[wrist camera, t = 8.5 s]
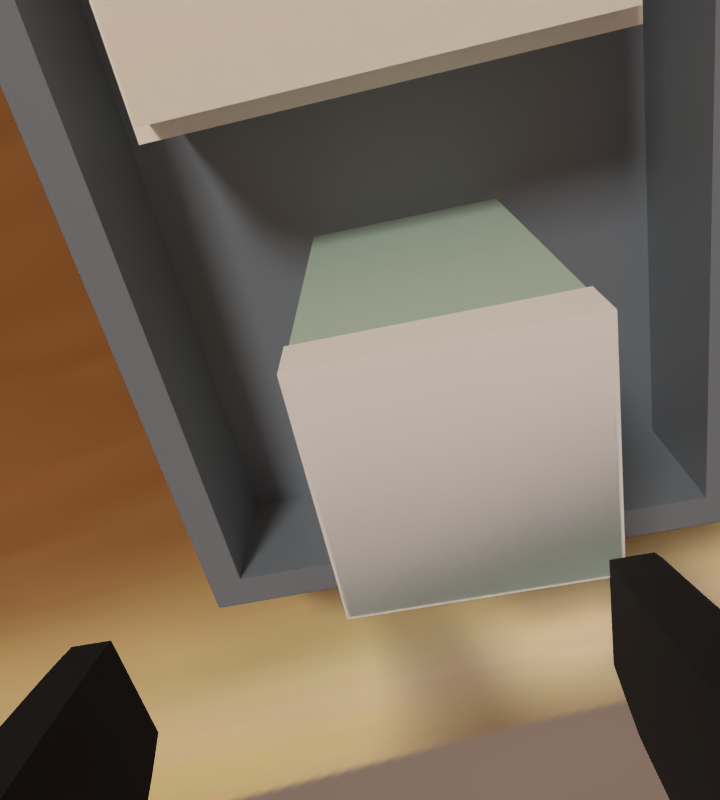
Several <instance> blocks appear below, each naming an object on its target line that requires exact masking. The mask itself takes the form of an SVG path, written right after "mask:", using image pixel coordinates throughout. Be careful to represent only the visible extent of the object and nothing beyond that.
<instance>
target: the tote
mask: <svg viewBox="0 0 720 800" xmlns="http://www.w3.org/2000/svg"><path fill="white" fill-rule="evenodd" d="M0 85H1V88H2V90H3V92H4V95H5V97H6V100H7V102H8V104H9V107H10V109H11V112H12V114H13V116H14V119H15V121H16V123H17V126H18V128H19V131H20V133H21V135H22V138H23V140H24V143H25V145H26V147H27V150H28V152H29V154H30V157H31V159H32V162H33V164H34V166H35V169H36V171H37V174H38V176H39V178H40V181H41V183H42V186H43V188H44V190H45V193H46V195H47V197H48V200H49V202H50V205H51V207H52V209H53V212H54V214H55V217H56V219H57V221H58V224H59V226H60V229H61V231H62V233H63V236H64V238H65V240H66V243H67V245H68V248H69V250H70V252H71V255H72V257H73V260H74V262H75V264H76V267H77V269H78V272H79V274H80V276H81V279H82V281H83V283H84V286H85V288H86V291H87V293H88V295H89V298H90V300H91V303H92V305H93V307H94V310H95V312H96V314H97V317H98V319H99V322H100V324H101V326H102V329H103V331H104V334H105V336H106V338H107V341H108V343H109V346H110V348H111V350H112V353H113V355H114V357H115V360H116V362H117V365H118V367H119V369H120V372H121V374H122V377H123V379H124V381H125V384H126V386H127V389H128V391H129V393H130V396H131V398H132V400H133V403H134V405H135V408H136V410H137V412H138V415H139V417H140V420H141V422H142V424H143V427H144V429H145V431H146V434H147V436H148V439H149V441H150V443H151V446H152V448H153V451H154V453H155V455H156V458H157V460H158V463H159V465H160V467H161V470H162V472H163V474H164V477H165V479H166V482H167V484H168V486H169V489H170V491H171V494H172V496H173V498H174V501H175V503H176V506H177V508H178V510H179V513H180V515H181V517H182V520H183V522H184V525H185V527H186V529H187V532H188V534H189V537H190V539H191V541H192V544H193V546H194V548H195V551H196V553H197V556H198V558H199V560H200V563H201V565H202V568H203V570H204V572H205V575H206V577H207V580H208V582H209V584H210V587H211V589H212V591H213V594H214V596H215V599H216V601H217V603H218V606H219V608H222V607H227V606H233V605H239V604H245V603H251V602H256V601H262V600H268V599H274V598H280V597H285V596H291V595H297V594H303V593H309V592H314V591H320V590H326V589H332V588H338V585H337V582H336V578H335V575H334V572H333V568H332V565H331V561H330V558H329V554H328V551H327V547H326V544H325V540H324V537H323V534H322V530H321V527H320V523H319V520H318V516H317V513H316V509H315V506H314V502H313V499H312V495H311V492H310V489H309V485H308V482H307V478H306V475H305V471H304V468H303V464H302V461H301V457H300V454H299V450H298V447H297V444H296V440H295V437H294V433H293V430H292V426H291V423H290V419H289V416H288V412H287V409H286V405H285V402H284V399H283V395H282V392H281V388H280V385H279V381H278V378H277V372H278V368H279V363H280V359H281V355H282V351H283V347H284V346H288V345H289V342H290V338H291V333H292V329H293V325H294V320H295V316H296V312H297V307H298V303H299V299H300V294H301V290H302V286H303V281H304V277H305V273H306V268H307V264H308V260H309V255H310V251H311V247H312V242H313V238H314V237H315V236H320V235H324V234H329V233H334V232H339V231H344V230H348V229H353V228H358V227H363V226H368V225H372V224H377V223H382V222H387V221H391V220H396V219H401V218H406V217H411V216H415V215H420V214H425V213H430V212H434V211H439V210H444V209H449V208H454V207H458V206H463V205H468V204H473V203H478V202H482V201H487V200H492V199H497V200H498V201H499V202H500V203H501V204H502V205H503V206H504V207H505V208H506V209H507V210H508V211H509V212H510V213H511V214H512V215H513V216H514V217H515V218H516V219H517V220H519V221H520V222H521V223H522V224H523V225H524V226H525V227H526V228H527V229H528V230H529V231H530V232H531V233H532V234H533V235H534V236H535V237H536V238H537V239H538V240H539V241H540V242H541V243H542V244H543V245H544V246H545V247H546V248H547V249H548V250H549V251H550V252H551V253H552V254H553V255H554V256H555V257H556V258H557V259H558V260H559V261H560V262H561V263H562V264H563V265H564V266H565V267H566V268H567V269H568V270H569V271H570V272H571V273H572V274H573V275H574V276H575V277H576V278H578V279H579V280H580V281H581V282H582V283H583V284H584V285H585V286H586V287H590V286H593V287H594V288H595V289H596V290H597V291H598V292H599V293H601V294H602V295H603V296H604V297H605V298H606V299H607V300H608V301H609V302H610V303H611V304H612V305H613V306H614V307H615V308H616V309H617V314H618V345H619V376H620V406H621V437H622V467H623V498H624V528H625V538H627V537H633V536H639V535H645V534H651V533H656V532H662V531H668V530H674V529H680V528H685V527H691V526H697V525H703V524H709V523H714V522H720V0H643V24H641V25H636V26H632V27H628V28H624V29H620V30H616V31H611V32H607V33H603V34H599V35H595V36H591V37H587V38H582V39H578V40H574V41H570V42H566V43H562V44H557V45H553V46H549V47H545V48H541V49H537V50H533V51H528V52H524V53H520V54H516V55H512V56H508V57H503V58H499V59H495V60H491V61H487V62H483V63H479V64H474V65H470V66H466V67H462V68H458V69H454V70H449V71H445V72H441V73H437V74H433V75H429V76H424V77H420V78H416V79H412V80H408V81H404V82H400V83H395V84H391V85H387V86H383V87H379V88H375V89H370V90H366V91H362V92H358V93H354V94H350V95H346V96H341V97H337V98H333V99H329V100H325V101H321V102H316V103H312V104H308V105H304V106H300V107H296V108H292V109H287V110H283V111H279V112H275V113H271V114H267V115H262V116H258V117H254V118H250V119H246V120H242V121H238V122H233V123H229V124H225V125H221V126H217V127H213V128H208V129H204V130H200V131H196V132H192V133H188V134H183V135H179V136H175V137H171V138H167V139H163V140H159V141H154V142H150V143H146V144H142V145H139V144H138V141H137V138H136V135H135V132H134V130H133V127H132V124H131V121H130V118H129V115H128V112H127V109H126V106H125V104H124V101H123V98H122V95H121V92H120V89H119V86H118V83H117V80H116V78H115V75H114V72H113V69H112V66H111V63H110V60H109V57H108V54H107V52H106V49H105V46H104V43H103V40H102V37H101V34H100V31H99V29H98V26H97V23H96V20H95V17H94V14H93V11H92V8H91V5H90V3H89V0H0Z"/></svg>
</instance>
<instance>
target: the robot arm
mask: <svg viewBox="0 0 720 800" xmlns="http://www.w3.org/2000/svg"><path fill="white" fill-rule="evenodd" d="M609 565H610V587H611V610H612V632H613V654H614V666H615V669H616V672H617V674H618V677H619V680H620V683H621V686H622V689H623V691H624V694H625V697H626V700H627V703H628V706H629V708H630V711H631V714H632V716H633V719H634V722H635V725H636V727H637V730H638V733H639V735H640V738H641V740H642V742H643V744H644V746H645V749H646V751H647V753H648V755H649V757H650V759H651V761H652V763H653V765H654V768H655V770H656V772H657V774H658V776H659V778H660V780H661V782H662V784H663V786H664V789H665V790H666V793H667V794H668V797H669V799H670V800H720V609H719V608H718V607H717V606H716V605H715V604H714V603H712V602H711V601H710V600H709V599H708V598H707V597H706V596H704V595H703V594H702V593H701V592H700V591H699V590H698V589H696V588H695V587H694V586H693V585H692V584H691V583H690V582H689V581H687V580H686V579H685V578H684V577H683V576H682V575H681V574H680V573H679V572H677V571H676V570H675V569H674V568H673V567H672V566H671V565H670V564H669V563H667V562H666V561H665V560H664V559H663V558H662V557H660V556H659V555H657V554H656V553H649V554H642V555H636V556H630V557H624V558H618V559H612V560H609ZM157 737H158V731H157V729H156V727H155V725H154V723H153V722H152V720H151V718H150V716H149V714H148V712H147V710H146V708H145V706H144V704H143V702H142V700H141V698H140V696H139V694H138V692H137V690H136V688H135V686H134V685H133V683H132V681H131V679H130V677H129V675H128V673H127V671H126V669H125V667H124V665H123V663H122V661H121V659H120V657H119V655H118V653H117V651H116V650H115V648H114V646H113V644H112V642H111V641H106V642H100V643H94V644H88V645H82V646H76V647H71V648H70V650H69V651H68V652H67V653H66V654H65V655H64V656H63V657H62V658H61V659H60V660H59V661H58V662H57V663H56V664H55V665H54V666H53V668H52V669H51V670H50V671H49V672H48V673H47V674H46V675H45V676H44V678H43V679H42V680H41V681H40V682H39V683H38V684H37V685H36V687H35V688H34V689H33V690H32V691H31V692H30V693H29V694H28V696H27V697H26V698H25V699H24V700H23V701H22V702H21V704H20V705H19V706H18V707H17V708H16V709H15V710H14V712H13V713H12V714H11V715H10V716H9V717H8V718H7V720H6V721H5V722H4V723H3V724H2V725H1V726H0V800H148V796H149V790H150V784H151V778H152V772H153V765H154V758H155V751H156V744H157Z"/></svg>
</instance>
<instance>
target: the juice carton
mask: <svg viewBox="0 0 720 800" xmlns="http://www.w3.org/2000/svg"><path fill="white" fill-rule="evenodd" d="M277 378H278V381H279V385H280V388H281V392H282V395H283V399H284V402H285V405H286V409H287V412H288V416H289V419H290V423H291V426H292V430H293V433H294V437H295V440H296V444H297V447H298V450H299V454H300V457H301V461H302V464H303V468H304V471H305V475H306V478H307V482H308V485H309V489H310V492H311V495H312V499H313V502H314V506H315V509H316V513H317V516H318V520H319V523H320V527H321V530H322V534H323V537H324V540H325V544H326V547H327V551H328V554H329V558H330V561H331V565H332V568H333V572H334V575H335V578H336V582H337V585H338V589H339V592H340V596H341V599H342V603H343V606H344V610H345V613H346V617H347V619H353V618H360V617H366V616H372V615H379V614H385V613H391V612H398V611H404V610H410V609H417V608H423V607H429V606H436V605H442V604H448V603H454V602H461V601H467V600H473V599H480V598H486V597H492V596H499V595H505V594H511V593H518V592H524V591H530V590H537V589H543V588H549V587H556V586H562V585H568V584H574V583H581V582H587V581H593V580H600V579H606V578H610V565H609V560H612V559H618V558H624V557H625V528H624V498H623V467H622V437H621V406H620V376H619V345H618V314H617V309H616V308H615V307H614V306H613V305H612V304H611V303H610V302H609V301H608V300H607V299H606V298H605V297H604V296H603V295H602V294H601V293H599V292H598V291H597V290H596V289H595V288H594V287H593V286H590V287H586V286H585V285H584V284H583V283H582V282H581V281H580V280H579V279H578V278H576V277H575V276H574V275H573V274H572V273H571V272H570V271H569V270H568V269H567V268H566V267H565V266H564V265H563V264H562V263H561V262H560V261H559V260H558V259H557V258H556V257H555V256H554V255H553V254H552V253H551V252H550V251H549V250H548V249H547V248H546V247H545V246H544V245H543V244H542V243H541V242H540V241H539V240H538V239H537V238H536V237H535V236H534V235H533V234H532V233H531V232H530V231H529V230H528V229H527V228H526V227H525V226H524V225H523V224H522V223H521V222H520V221H519V220H517V219H516V218H515V217H514V216H513V215H512V214H511V213H510V212H509V211H508V210H507V209H506V208H505V207H504V206H503V205H502V204H501V203H500V202H499V201H498V200H497V199H492V200H487V201H482V202H478V203H473V204H468V205H463V206H458V207H454V208H449V209H444V210H439V211H434V212H430V213H425V214H420V215H415V216H411V217H406V218H401V219H396V220H391V221H387V222H382V223H377V224H372V225H368V226H363V227H358V228H353V229H348V230H344V231H339V232H334V233H329V234H324V235H320V236H315V237H314V238H313V242H312V247H311V251H310V255H309V260H308V264H307V268H306V273H305V277H304V281H303V286H302V290H301V294H300V299H299V303H298V307H297V312H296V316H295V320H294V325H293V329H292V333H291V338H290V342H289V345H288V346H284V347H283V351H282V355H281V359H280V363H279V368H278V372H277Z"/></svg>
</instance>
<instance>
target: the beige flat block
mask: <svg viewBox="0 0 720 800" xmlns="http://www.w3.org/2000/svg"><path fill="white" fill-rule="evenodd" d="M89 3H90V5H91V8H92V11H93V14H94V17H95V20H96V23H97V26H98V29H99V31H100V34H101V37H102V40H103V43H104V46H105V49H106V52H107V54H108V57H109V60H110V63H111V66H112V69H113V72H114V75H115V78H116V80H117V83H118V86H119V89H120V92H121V95H122V98H123V101H124V104H125V106H126V109H127V112H128V115H129V118H130V121H131V124H132V127H133V130H134V132H135V135H136V138H137V141H138V144H139V145H142V144H146V143H150V142H154V141H159V140H163V139H167V138H171V137H175V136H179V135H183V134H188V133H192V132H196V131H200V130H204V129H208V128H213V127H217V126H221V125H225V124H229V123H233V122H238V121H242V120H246V119H250V118H254V117H258V116H262V115H267V114H271V113H275V112H279V111H283V110H287V109H292V108H296V107H300V106H304V105H308V104H312V103H316V102H321V101H325V100H329V99H333V98H337V97H341V96H346V95H350V94H354V93H358V92H362V91H366V90H370V89H375V88H379V87H383V86H387V85H391V84H395V83H400V82H404V81H408V80H412V79H416V78H420V77H424V76H429V75H433V74H437V73H441V72H445V71H449V70H454V69H458V68H462V67H466V66H470V65H474V64H479V63H483V62H487V61H491V60H495V59H499V58H503V57H508V56H512V55H516V54H520V53H524V52H528V51H533V50H537V49H541V48H545V47H549V46H553V45H557V44H562V43H566V42H570V41H574V40H578V39H582V38H587V37H591V36H595V35H599V34H603V33H607V32H611V31H616V30H620V29H624V28H628V27H632V26H636V25H641V24H643V0H89Z"/></svg>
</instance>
